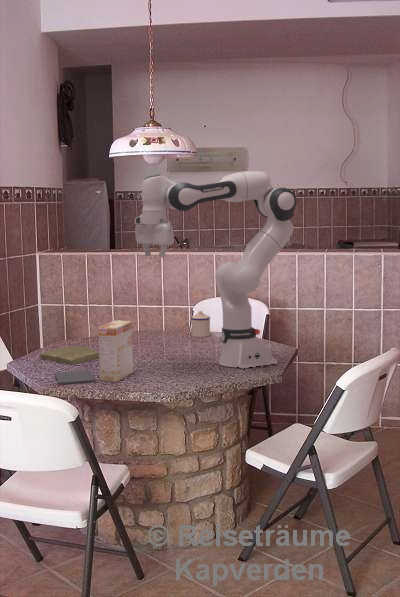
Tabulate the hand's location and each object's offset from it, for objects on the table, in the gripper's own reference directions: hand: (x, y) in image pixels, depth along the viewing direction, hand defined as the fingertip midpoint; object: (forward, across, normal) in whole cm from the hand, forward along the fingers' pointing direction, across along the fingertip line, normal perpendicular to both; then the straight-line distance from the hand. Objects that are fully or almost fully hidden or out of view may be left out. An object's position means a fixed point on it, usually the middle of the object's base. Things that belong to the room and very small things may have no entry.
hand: (154, 256), depth 275 cm
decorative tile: (+43, +39, +14) cm, 60 cm away
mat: (+42, +7, +31) cm, 53 cm away
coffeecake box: (+43, -1, +18) cm, 47 cm away
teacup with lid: (+43, +44, -54) cm, 82 cm away
